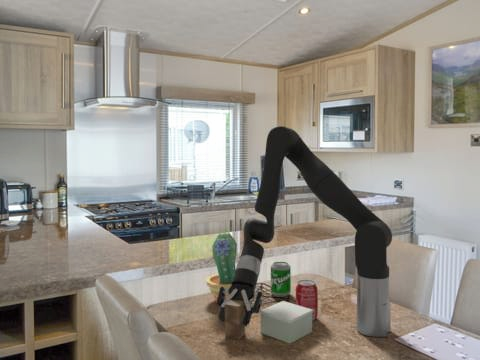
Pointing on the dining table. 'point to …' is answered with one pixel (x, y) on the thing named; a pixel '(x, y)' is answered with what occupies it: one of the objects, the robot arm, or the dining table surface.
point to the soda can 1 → (280, 279)
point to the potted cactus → (223, 264)
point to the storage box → (286, 321)
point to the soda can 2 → (307, 296)
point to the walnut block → (234, 319)
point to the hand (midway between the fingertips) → (233, 322)
